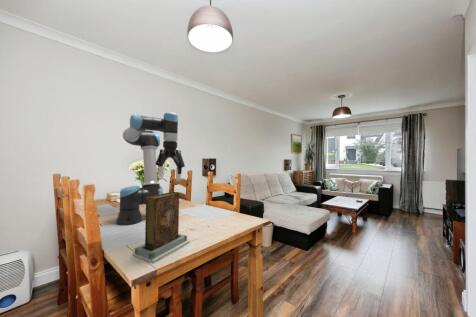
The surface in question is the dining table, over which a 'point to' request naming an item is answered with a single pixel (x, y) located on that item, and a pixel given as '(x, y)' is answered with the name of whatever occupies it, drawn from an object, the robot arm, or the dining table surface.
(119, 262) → the dining table surface
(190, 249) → the dining table surface
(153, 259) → the tray
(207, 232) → the dining table surface
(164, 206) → the book
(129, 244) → the dining table surface
